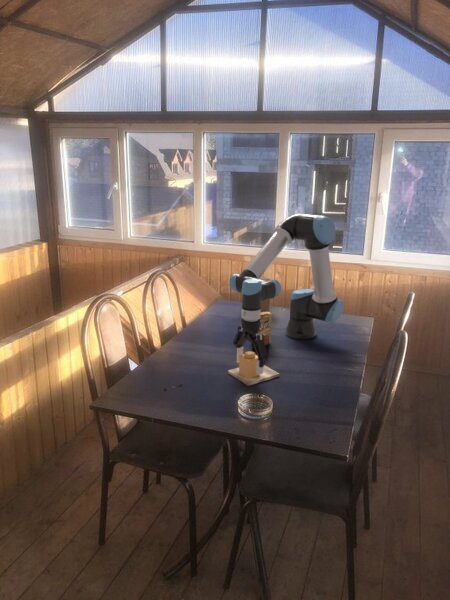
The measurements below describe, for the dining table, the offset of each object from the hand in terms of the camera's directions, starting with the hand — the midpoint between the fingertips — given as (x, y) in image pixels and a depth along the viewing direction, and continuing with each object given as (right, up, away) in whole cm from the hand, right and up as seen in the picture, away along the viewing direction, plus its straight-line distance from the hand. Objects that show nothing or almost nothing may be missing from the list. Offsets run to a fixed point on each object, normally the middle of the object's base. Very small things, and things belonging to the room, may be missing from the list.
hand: (249, 367), depth 202 cm
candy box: (+7, +7, +37) cm, 38 cm away
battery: (+6, +3, +25) cm, 26 cm away
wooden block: (+9, +21, +84) cm, 87 cm away
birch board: (+2, -3, +4) cm, 5 cm away
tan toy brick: (0, -3, +1) cm, 3 cm away
